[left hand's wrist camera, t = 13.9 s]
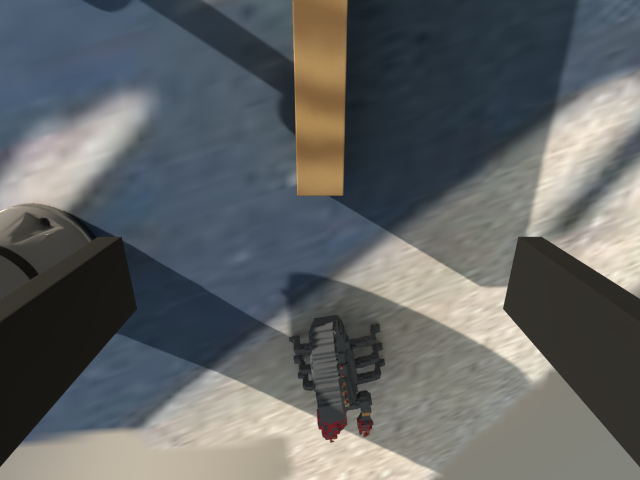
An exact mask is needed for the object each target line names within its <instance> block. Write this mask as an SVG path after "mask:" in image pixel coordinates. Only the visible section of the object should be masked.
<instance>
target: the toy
mask: <svg viewBox="0 0 640 480" xmlns="http://www.w3.org/2000/svg"><path fill="white" fill-rule="evenodd" d="M371 327H372V329H370V332H371V335H370V336H366V337H363V338H358V339H352V340H350V341H349V338H348V336H347V334H346V332H345V329H344V325H343V323H342V321H341V320H340V318H339V316H338V315H335V316H328V317H321V318H315V319H314V322H313V323H312V325H311V328H310V331H309V344H300V339H299V336H295V337H289V341H290V342H292V343H294V352H295V353H296V354H300V353H305V354H308V353H310V364H307V365H305V362H304V359H303V357H302V355H299V356H294V362H295V364H300V365H299V371H301V372H300V373H298V378H301V379H303V388H304V389H305V390H314V391H315V392H316V398H317V403H318V409H317V420H318V427H319V429H321V430H322V436H323V437H324V438H325V439H326V440H329V439H330V442H331V443H332V442H334V441H332V439H337V434H340V431H341V430H343V429H344V426H346V425H347V417H346V412H347V411H348V410H353V409H358V408H361V413H360V415H359V417H358V418H357V424H358V429H359V433H360V435H361V434H362V431H367V432H365V433H364V437H366V436H368V435H369V431H370V429H372V425H373V421H372V419H371V418H370V413H371V407H370V405H372V401H371V395H370V393H369V392H368V391H367V390H365V391H360V392H359V393H358V394H356V392H358V390H357V385H358V384H362V383H366V382H370V381H374V380H377V379H380V376H381V370H380V367H381V366H384V365H385V362H384V359H382V360H379V355H378V351H380V350H382V349H383V348H382V344H375V340H376V336H375V333H378V332H380V327H379V324H376V325H371ZM373 344H375V345H373ZM369 345H372V347H373V352H374V353H372V355H367V356H363V357H359V358H357V359H355V360H354V354H353V349H354V348H359V347H364V346H369ZM371 364H375V370H374V371H371V372H366V373H362V374H357V371H356V368H362V367H365V366H367V365H371ZM309 373H312V381H309V380H308V374H309Z"/></svg>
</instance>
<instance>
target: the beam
mask: <svg viewBox="0 0 640 480" xmlns="http://www.w3.org/2000/svg"><path fill="white" fill-rule="evenodd" d="M347 13H348V0H293V35H294V76H295V116H296V156H297V195H298V196H343V189H344V145H345V101H346V57H347Z"/></svg>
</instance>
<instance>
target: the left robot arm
mask: <svg viewBox="0 0 640 480" xmlns="http://www.w3.org/2000/svg"><path fill="white" fill-rule="evenodd" d="M136 309H137V307H136V302H135V298H134V293H133V288H132V284H131V279H130V274H129V270H128V265H127V260H126V256H125V251H124V246H123V242H122V237H97V238H96V239H95V238H94V236H93V235H92V234H91V232H90V231H89V230H88V229H87V228H86V227H85V226H84V225H83V224H82V223H80V222H79V221H78V220H77V219H75V218H74V217H72V216H71V215H69V214H67V213H65V212H63V211H61V210H59V209H56V208H54V207H50V206H46V205H42V204H21V205H17V206H13V207H11V208H8V209H5V210H3V211H0V467H1V465H2V464H3V463H4V462H5V461H6V460H7V458H8V457H9V456H10V455H11V454H12V453H13V452H14V450H15V449H16V448H17V447H18V446H19V445H20V443H21V442H22V441H23V440H24V439H25V438H26V437H27V435H28V434H29V433H30V432H31V431H32V430H33V428H34V427H35V426H36V425H37V424H38V423H39V421H40V420H41V419H42V418H43V417H44V416H45V415H46V413H47V412H48V411H49V410H50V409H51V408H52V406H53V405H54V404H55V403H56V402H57V401H58V399H59V398H60V397H61V396H62V395H63V394H64V393H65V391H66V390H67V389H68V388H69V387H70V386H71V384H72V383H73V382H74V381H75V380H76V379H77V377H78V376H79V375H80V374H81V373H82V372H83V371H84V369H85V368H86V367H87V366H88V365H89V364H90V362H91V361H92V360H93V359H94V358H95V357H96V355H97V354H98V353H99V352H100V351H101V350H102V349H103V347H104V346H105V345H106V344H107V343H108V342H109V340H110V339H111V338H112V337H113V336H114V335H115V333H116V332H117V331H118V330H119V329H120V328H121V327H122V325H123V324H124V323H125V322H126V321H127V320H128V318H129V317H130V316H131V315H132V314H133V313H134V312H135V310H136ZM503 309H504V310H505V312H506V313H507V314H508V315H509V316H510V317H511V318H512V320H513V321H514V322H515V323H516V324H517V325H518V327H519V328H520V329H521V330H522V331H523V332H524V333H525V335H526V336H527V337H528V338H529V339H530V340H531V342H532V343H533V344H534V345H535V346H536V347H537V349H538V350H539V351H540V352H541V353H542V354H543V355H544V357H545V358H546V359H547V360H548V361H549V362H550V364H551V365H552V366H553V367H554V368H555V369H556V371H557V372H558V373H559V374H560V375H561V376H562V377H563V379H564V380H565V381H566V382H567V383H568V384H569V386H570V387H571V388H572V389H573V390H574V391H575V393H576V394H577V395H578V396H579V397H580V398H581V399H582V401H583V402H584V403H585V404H586V405H587V406H588V408H589V409H590V410H591V411H592V412H593V413H594V415H595V416H596V417H597V418H598V419H599V420H600V421H601V423H602V424H603V425H604V426H605V427H606V428H607V430H608V431H609V432H610V433H611V434H612V435H613V436H614V438H615V439H616V440H617V441H618V442H619V443H620V445H621V446H622V447H623V448H624V449H625V450H626V452H627V453H628V454H629V455H630V456H631V457H632V458H633V460H634V461H635V462H636V463H637V464H638V465H639V467H640V299H639V298H638V297H636V296H634V295H633V294H631V293H630V292H628V291H626V290H625V289H623V288H622V287H620V286H619V285H617V284H615V283H614V282H612V281H611V280H609V279H607V278H606V277H604V276H603V275H601V274H600V273H598V272H596V271H595V270H593V269H592V268H590V267H588V266H587V265H585V264H584V263H582V262H581V261H579V260H577V259H576V258H574V257H573V256H571V255H569V254H568V253H566V252H565V251H563V250H562V249H560V248H558V247H557V246H555V245H554V244H552V243H550V242H549V241H547V240H546V239H544V238H543V237H518V242H517V246H516V251H515V256H514V260H513V265H512V270H511V274H510V279H509V284H508V288H507V293H506V298H505V302H504V307H503Z"/></svg>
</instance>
